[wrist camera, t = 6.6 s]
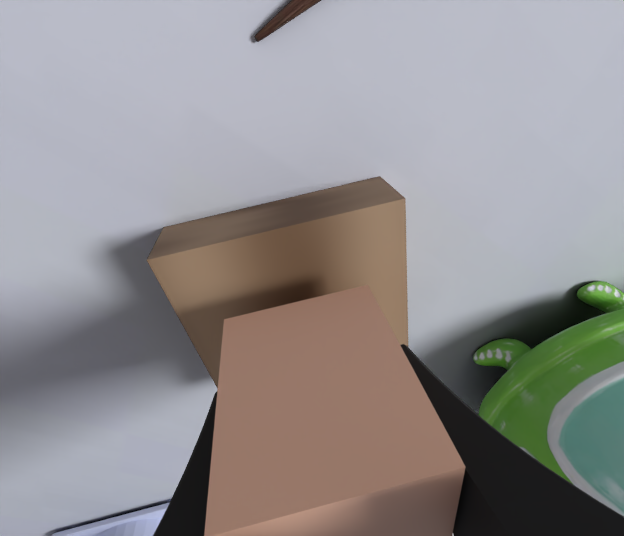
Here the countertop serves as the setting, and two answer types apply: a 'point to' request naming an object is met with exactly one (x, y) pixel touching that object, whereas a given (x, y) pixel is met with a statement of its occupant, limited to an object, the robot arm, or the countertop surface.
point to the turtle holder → (567, 397)
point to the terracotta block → (326, 428)
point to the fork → (285, 16)
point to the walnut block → (285, 259)
